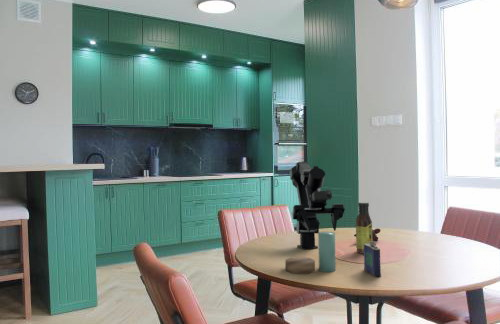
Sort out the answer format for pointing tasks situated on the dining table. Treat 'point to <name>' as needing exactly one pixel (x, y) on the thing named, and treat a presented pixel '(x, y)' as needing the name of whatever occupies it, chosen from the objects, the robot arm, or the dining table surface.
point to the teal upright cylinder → (327, 251)
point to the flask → (372, 259)
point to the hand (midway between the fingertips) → (322, 230)
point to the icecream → (374, 234)
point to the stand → (300, 265)
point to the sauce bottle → (363, 227)
